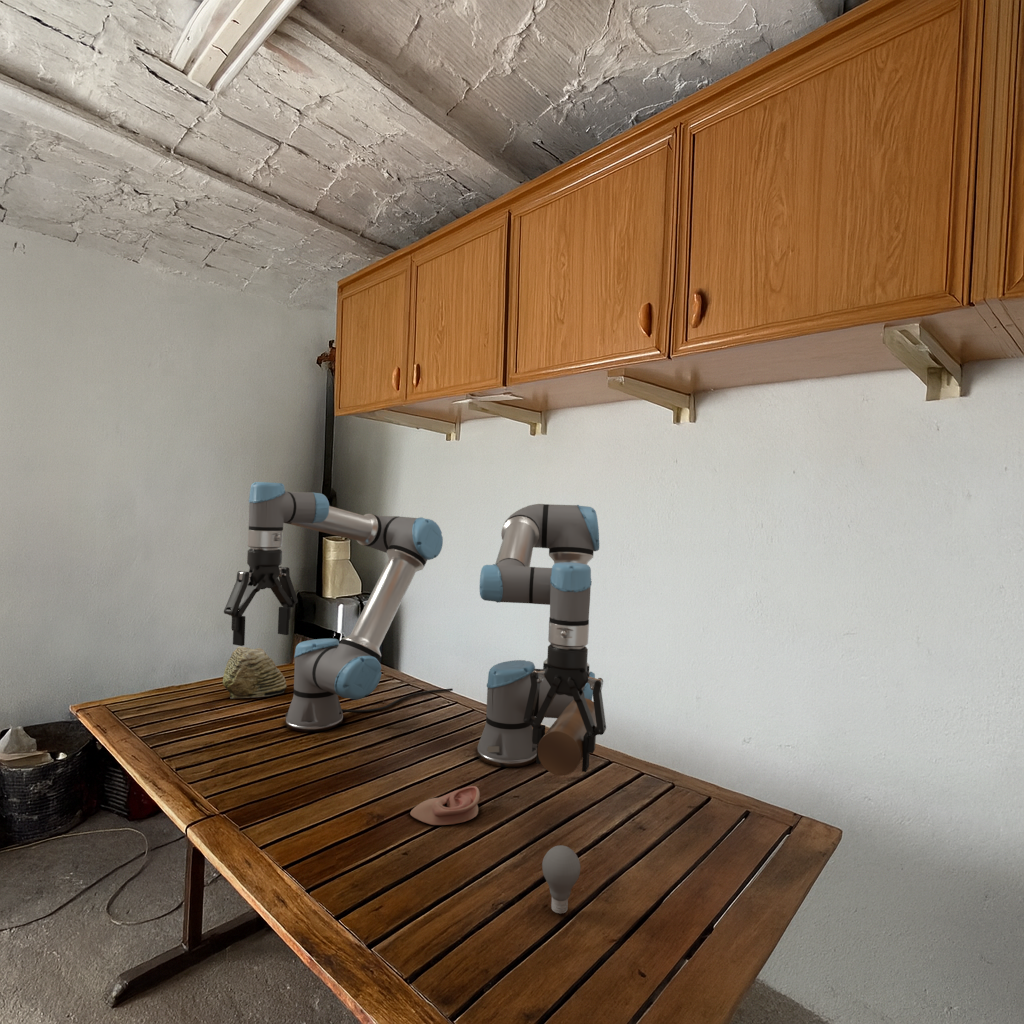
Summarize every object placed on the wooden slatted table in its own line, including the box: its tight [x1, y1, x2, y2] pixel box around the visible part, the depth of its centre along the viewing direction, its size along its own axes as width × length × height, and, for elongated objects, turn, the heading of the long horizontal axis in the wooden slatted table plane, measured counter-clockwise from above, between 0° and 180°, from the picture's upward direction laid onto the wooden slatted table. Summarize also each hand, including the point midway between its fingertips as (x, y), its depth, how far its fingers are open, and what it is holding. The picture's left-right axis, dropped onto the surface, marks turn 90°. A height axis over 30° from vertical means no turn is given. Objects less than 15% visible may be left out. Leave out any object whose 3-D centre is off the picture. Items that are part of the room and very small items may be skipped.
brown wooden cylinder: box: [538, 698, 597, 776], centre depth 127 cm, size 22×8×8 cm, turn 162°
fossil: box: [222, 646, 288, 699], centre depth 198 cm, size 9×18×15 cm, turn 132°
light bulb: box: [541, 844, 581, 914], centre depth 99 cm, size 6×6×10 cm
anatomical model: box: [409, 785, 481, 826], centre depth 129 cm, size 13×4×12 cm
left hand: (261, 639), depth 148 cm, fingers open, 13 cm apart
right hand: (562, 764), depth 120 cm, fingers closed on brown wooden cylinder, 8 cm apart
